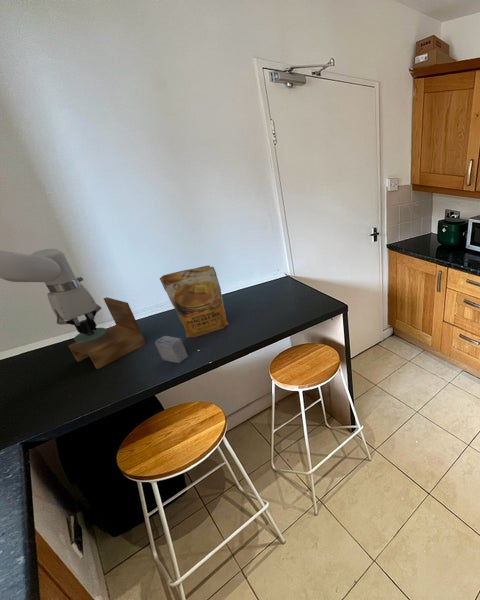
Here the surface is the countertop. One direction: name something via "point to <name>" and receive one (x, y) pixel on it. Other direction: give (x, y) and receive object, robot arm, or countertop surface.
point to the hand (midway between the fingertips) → (88, 331)
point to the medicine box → (171, 349)
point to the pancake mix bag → (196, 300)
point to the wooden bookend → (112, 337)
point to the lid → (89, 333)
